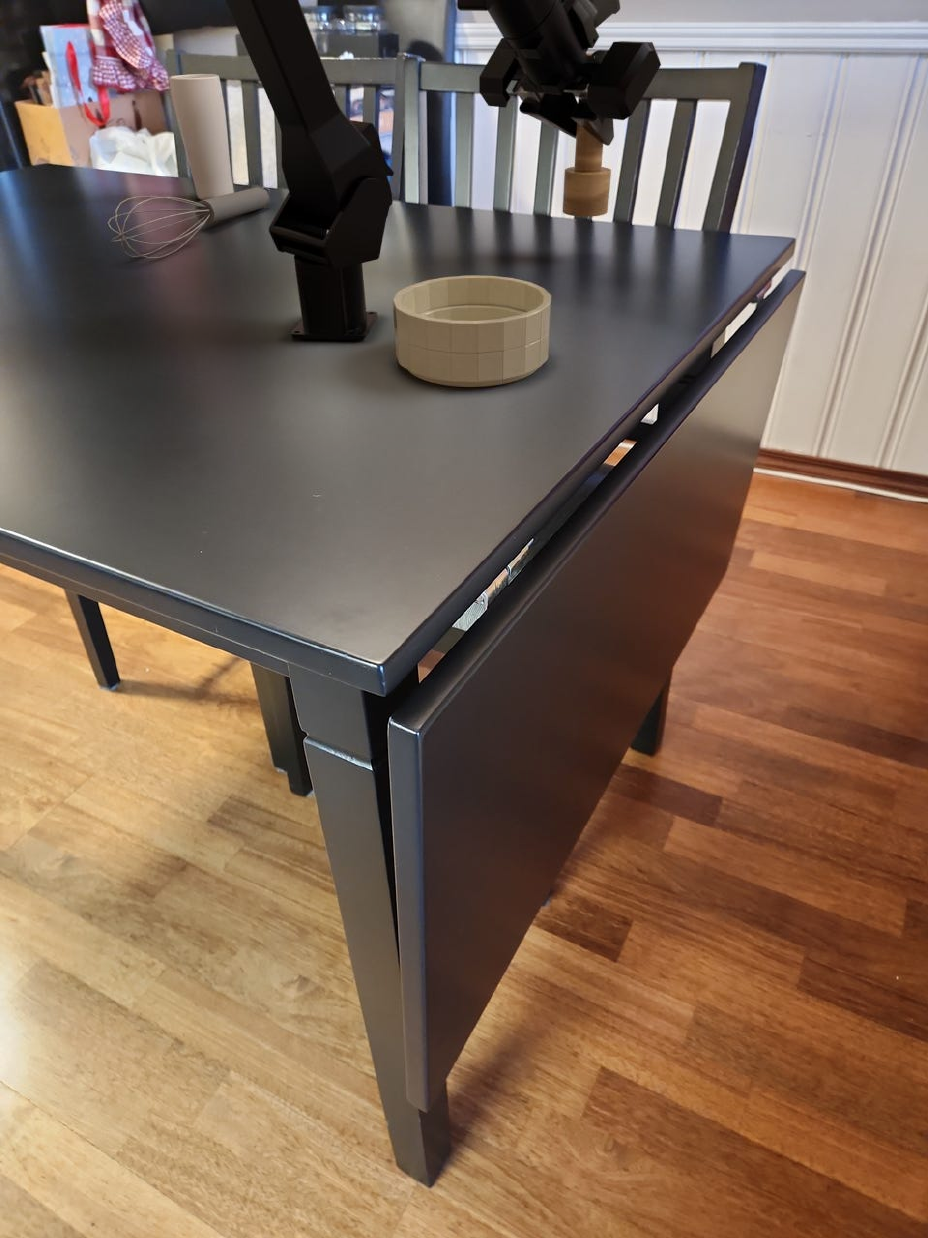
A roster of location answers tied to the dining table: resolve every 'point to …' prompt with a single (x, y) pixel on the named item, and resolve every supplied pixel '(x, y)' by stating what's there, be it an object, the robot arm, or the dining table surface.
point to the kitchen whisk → (202, 212)
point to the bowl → (472, 330)
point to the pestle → (586, 178)
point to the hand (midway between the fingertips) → (598, 139)
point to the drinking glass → (203, 132)
